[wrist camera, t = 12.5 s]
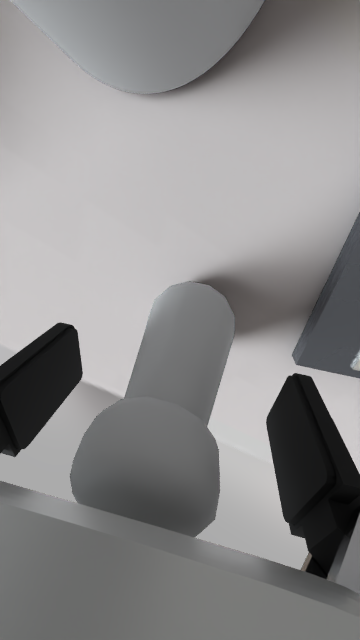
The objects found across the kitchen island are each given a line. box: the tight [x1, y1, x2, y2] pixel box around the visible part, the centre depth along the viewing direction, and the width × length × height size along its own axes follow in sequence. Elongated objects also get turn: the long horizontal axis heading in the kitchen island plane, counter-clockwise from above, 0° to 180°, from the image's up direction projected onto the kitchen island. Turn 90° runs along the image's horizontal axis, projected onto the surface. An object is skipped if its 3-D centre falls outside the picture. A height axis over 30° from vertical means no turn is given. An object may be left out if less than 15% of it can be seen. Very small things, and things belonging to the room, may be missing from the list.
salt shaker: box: [70, 281, 235, 537], centre depth 11 cm, size 6×6×13 cm
